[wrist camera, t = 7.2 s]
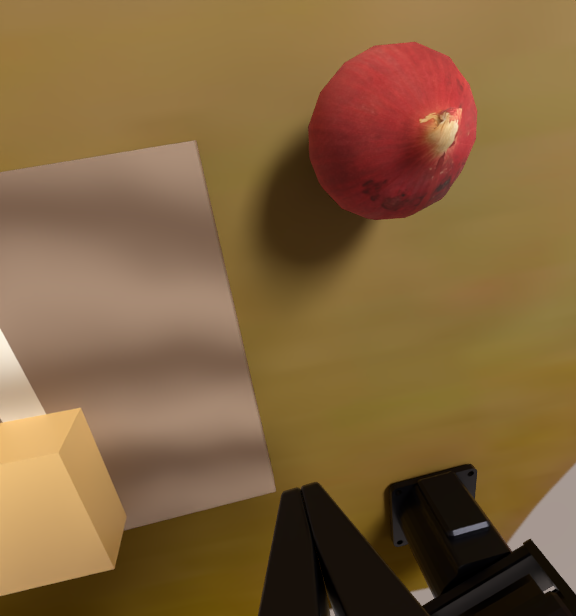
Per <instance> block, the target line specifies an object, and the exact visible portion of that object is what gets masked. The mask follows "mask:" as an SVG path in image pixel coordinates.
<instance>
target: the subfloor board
mask: <svg viewBox="0 0 576 616" xmlns="http://www.w3.org/2000/svg"><path fill="white" fill-rule="evenodd" d="M77 408H81V409H82V412H83V414H84V416H85V419H86V421H87V424H88V426H89V428H90V431H91V433H92V435H93V438H94V440H95V443H96V445H97V447H98V450H99V452H100V454H101V457H102V459H103V461H104V464H105V466H106V469H107V471H108V473H109V476H110V478H111V480H112V483H113V485H114V488H115V490H116V492H117V495H118V497H119V499H120V502H121V504H122V507H123V509H124V511H125V514H126V516H127V517H126V522H125V526H124V530H128V529H132V528H136V527H140V526H144V525H148V524H151V523H155V522H159V521H163V520H167V519H171V518H175V517H179V516H183V515H186V514H190V513H194V512H198V511H202V510H206V509H210V508H214V507H218V506H221V505H225V504H229V503H233V502H237V501H241V500H245V499H249V498H253V497H256V496H260V495H264V494H268V493H272V492H276V488H275V483H274V477H273V471H272V467H271V463H270V458H269V454H268V450H267V445H266V441H265V437H264V432H263V428H262V424H261V419H260V415H259V411H258V406H257V402H256V398H255V393H254V389H253V385H252V380H251V376H250V372H249V367H248V363H247V359H246V354H245V350H244V346H243V341H242V337H241V333H240V328H239V324H238V320H237V315H236V311H235V307H234V302H233V298H232V294H231V289H230V285H229V281H228V276H227V272H226V268H225V263H224V259H223V255H222V250H221V246H220V242H219V237H218V233H217V229H216V224H215V220H214V216H213V211H212V207H211V203H210V198H209V194H208V190H207V185H206V181H205V177H204V172H203V168H202V164H201V159H200V155H199V151H198V146H197V142H196V140H195V141H189V142H182V143H176V144H170V145H164V146H158V147H152V148H146V149H140V150H134V151H128V152H121V153H115V154H109V155H103V156H97V157H91V158H85V159H79V160H73V161H67V162H60V163H54V164H48V165H42V166H36V167H30V168H24V169H18V170H12V171H6V172H0V423H3V422H8V421H13V420H19V419H24V418H29V417H34V416H40V415H45V414H50V413H56V412H61V411H66V410H71V409H77ZM124 530H123V531H124Z"/></svg>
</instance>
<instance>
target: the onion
mask: <svg viewBox="0 0 576 616" xmlns="http://www.w3.org/2000/svg"><path fill="white" fill-rule="evenodd" d="M476 123H477V109H476V106H475V102H474V99H473V95H472V92H471V89H470V85H469V83H468V82H467V81H466V79H465V78H464V77H463V76H462V74H461V73H460V72H459V70H458V69H457V67H456V66H455V64H454V63H453V61H452V60H451V58H450V57H449V56H446V55H444V54H442V53H440V52H437V51H435V50H433V49H430V48H428V47H426V46H423V45H421V44H419V43H416V42H410V43H399V44H388V45H377V46H373V47H371V48H370V49H368V50H366V51H364V52H363V53H361V54H359V55H357V56H356V57H354V58H352V59H350V60H349V61H347V62H345V63H344V64H343V65H342V67H341V68H340V69H339V70H338V71H337V73H336V74H335V75H334V76H333V77H332V79H331V80H330V81H329V82H328V84H327V85H326V86H325V87H324V88H323V90H322V91H321V92H320V95H319V97H318V100H317V103H316V106H315V109H314V112H313V115H312V118H311V121H310V124H309V127H308V132H309V158H310V161H311V163H312V166H313V168H314V171H315V174H316V176H317V179H318V181H319V184H320V185H321V186H322V188H323V189H324V190H325V191H326V192H327V193H328V194H329V195H330V196H331V198H332V199H333V200H334V201H335V202H336V203H337V204H338V205H339V206H340V207H341V208H342V209H345V210H347V211H350V212H352V213H355V214H357V215H360V216H362V217H365V218H368V219H374V220H380V219H393V218H405V217H408V216H410V215H413V214H415V213H416V212H418V211H420V210H422V209H424V208H426V207H428V206H429V205H431V204H433V203H435V202H437V201H439V200H441V199H442V198H443V197H444V196H445V195H446V193H447V192H448V190H449V189H450V187H451V186H452V184H453V183H454V181H455V180H456V178H457V177H458V176H459V174H460V173H461V171H462V169H463V167H464V165H465V163H466V160H467V158H468V156H469V153H470V151H471V149H472V146H473V144H474V142H475V140H476Z"/></svg>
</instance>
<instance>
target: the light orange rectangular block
mask: <svg viewBox="0 0 576 616" xmlns="http://www.w3.org/2000/svg"><path fill="white" fill-rule="evenodd" d="M126 517H127V516H126V514H125V511H124V509H123V507H122V504H121V502H120V499H119V497H118V495H117V492H116V490H115V488H114V485H113V483H112V480H111V478H110V476H109V473H108V471H107V469H106V466H105V464H104V461H103V459H102V457H101V454H100V452H99V450H98V447H97V445H96V443H95V440H94V438H93V435H92V433H91V431H90V428H89V426H88V424H87V421H86V419H85V416H84V414H83V412H82V409H81V408H77V409H71V410H66V411H61V412H56V413H50V414H45V415H40V416H34V417H29V418H24V419H19V420H13V421H8V422H3V423H0V596H2V595H7V594H11V593H15V592H19V591H24V590H28V589H32V588H36V587H40V586H45V585H49V584H53V583H57V582H61V581H66V580H70V579H74V578H78V577H82V576H87V575H91V574H95V573H99V572H104V571H108V570H112V569H115V564H116V560H117V556H118V552H119V547H120V543H121V539H122V534H123V530H124V526H125V522H126Z"/></svg>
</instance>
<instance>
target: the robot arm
mask: <svg viewBox="0 0 576 616" xmlns="http://www.w3.org/2000/svg"><path fill="white" fill-rule="evenodd" d="M476 479H477V470H476V469H475V467H474V466H473V465H472V464H467V465H464V466H460V467H456V468H452V469H448V470H445V471H441V472H437V473H433V474H429V475H426V476H422V477H418V478H414V479H410V480H407V481H403V482H399V483H395V484H393V485H392V486H391V487H390V488H389V497H390V517H391V537H392V541H393V544H394V546H396V547H400V546H403V545H407V544H409V546H410V548H411V550H412V552H413V555H414V557H415V559H416V561H417V563H418V565H419V567H420V569H421V571H422V573H423V576H424V578H425V580H426V582H427V584H428V586H429V588H430V590H431V592H432V594H433V596H434V599H433V600H431V601H430V602H428V603H426V604H425V605H423V606H421V605H420V603H419V602H418V601H417V600H416V599H415V598H414V596H413V595H412V594H411V593H410V591H409V590H408V589H407V588H406V587H405V585H404V584H403V583H402V582H401V581H400V579H399V578H398V577H397V576H396V575H395V573H394V572H393V571H392V570H391V569H390V567H389V566H388V565H387V564H386V563H385V561H384V560H383V559H382V558H381V557H380V556H379V554H378V553H377V552H376V551H375V550H374V548H373V547H372V546H371V545H370V544H369V542H368V541H367V540H366V539H365V538H364V536H363V535H362V534H361V533H360V532H359V530H358V529H357V528H356V527H355V526H354V524H353V523H352V522H351V521H350V520H349V518H348V517H347V516H346V515H345V514H344V512H343V511H342V510H341V509H340V508H339V506H338V505H337V504H336V503H335V502H334V500H333V499H332V498H331V497H330V496H329V494H328V493H327V492H326V491H325V490H324V488H323V487H322V486H321V485H320V484H319V483H318V482H313V483H310V484H306V485H303V486H302V487H301V490H300V488H297V487H296V488H293V489H290V490H286V491H284V492H283V493H282V495H281V500H280V505H279V510H278V515H277V520H276V525H275V531H274V536H273V541H272V546H271V551H270V556H269V561H268V567H267V572H266V577H265V582H264V587H263V592H262V597H261V603H260V608H259V613H258V616H330V611H329V604H328V599H327V593H328V596H329V599H330V602H331V605H332V608H333V611H334V613H335V616H576V594H575V593H574V592H573V591H572V590H571V588H570V587H569V586H568V584H567V583H566V582H565V581H564V580H563V578H562V577H561V576H560V575H559V574H558V572H557V571H556V570H555V568H554V567H553V566H552V565H551V564H550V562H549V561H548V560H547V559H546V558H545V556H544V555H543V554H542V552H541V551H540V550H539V549H538V548H537V546H536V545H535V544H534V543H533V541H532V540H531V539H529V540H527V541H526V542H524V543H523V544H524V545H523V546H521V547H519V548H518V549H516V550H514V551H513V552H512V551H511V549H510V548H509V546H508V545H507V544H506V542H505V541H504V539H503V538H502V537H501V535H500V534H499V533H498V531H497V530H496V528H495V527H494V526H493V524H492V523H491V521H490V520H489V519H488V517H487V516H486V514H485V513H484V512H483V510H482V509H481V508H480V506H479V505H478V503H477V502H476V501H475V490H476ZM306 512H307V513H306ZM307 516H308V517H307ZM308 520H309V521H308ZM309 524H310V525H309ZM318 559H319V560H318ZM319 563H320V564H319ZM320 567H321V568H320ZM321 571H322V572H321ZM322 575H323V576H322ZM323 579H324V580H323ZM324 583H325V584H324ZM325 586H326V589H325ZM552 586H554V587H555V590H553V591H549V592H547V593H545V594H544V593H543V591H545V590H546V589H548V588H550V587H552ZM326 590H327V593H326Z"/></svg>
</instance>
